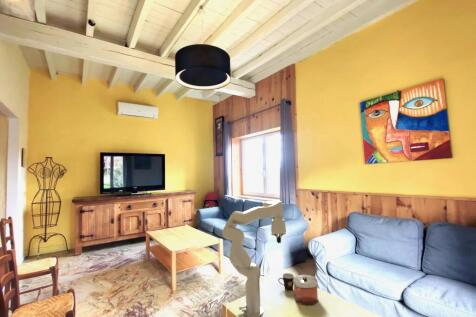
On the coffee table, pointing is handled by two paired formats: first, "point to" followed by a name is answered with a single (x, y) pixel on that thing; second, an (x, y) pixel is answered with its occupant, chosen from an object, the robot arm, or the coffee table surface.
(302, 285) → the cooker lid
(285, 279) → the coffee mug
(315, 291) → the red-brown rounded block
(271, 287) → the coffee table surface
